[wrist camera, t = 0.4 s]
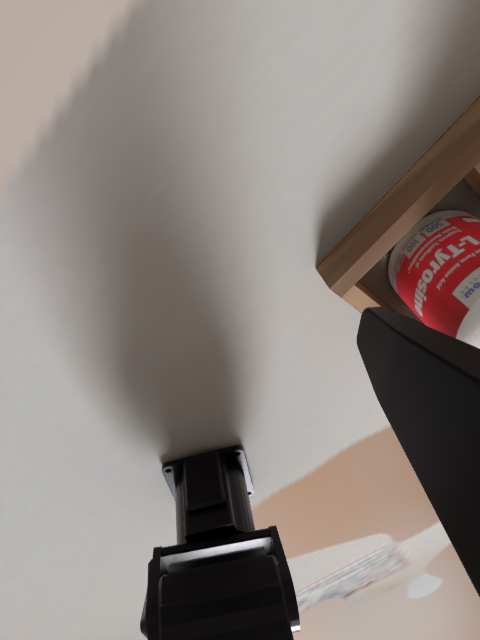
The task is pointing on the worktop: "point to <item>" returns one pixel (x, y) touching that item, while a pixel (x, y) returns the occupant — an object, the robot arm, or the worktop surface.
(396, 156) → the worktop surface
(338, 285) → the rack
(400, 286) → the pill bottle
